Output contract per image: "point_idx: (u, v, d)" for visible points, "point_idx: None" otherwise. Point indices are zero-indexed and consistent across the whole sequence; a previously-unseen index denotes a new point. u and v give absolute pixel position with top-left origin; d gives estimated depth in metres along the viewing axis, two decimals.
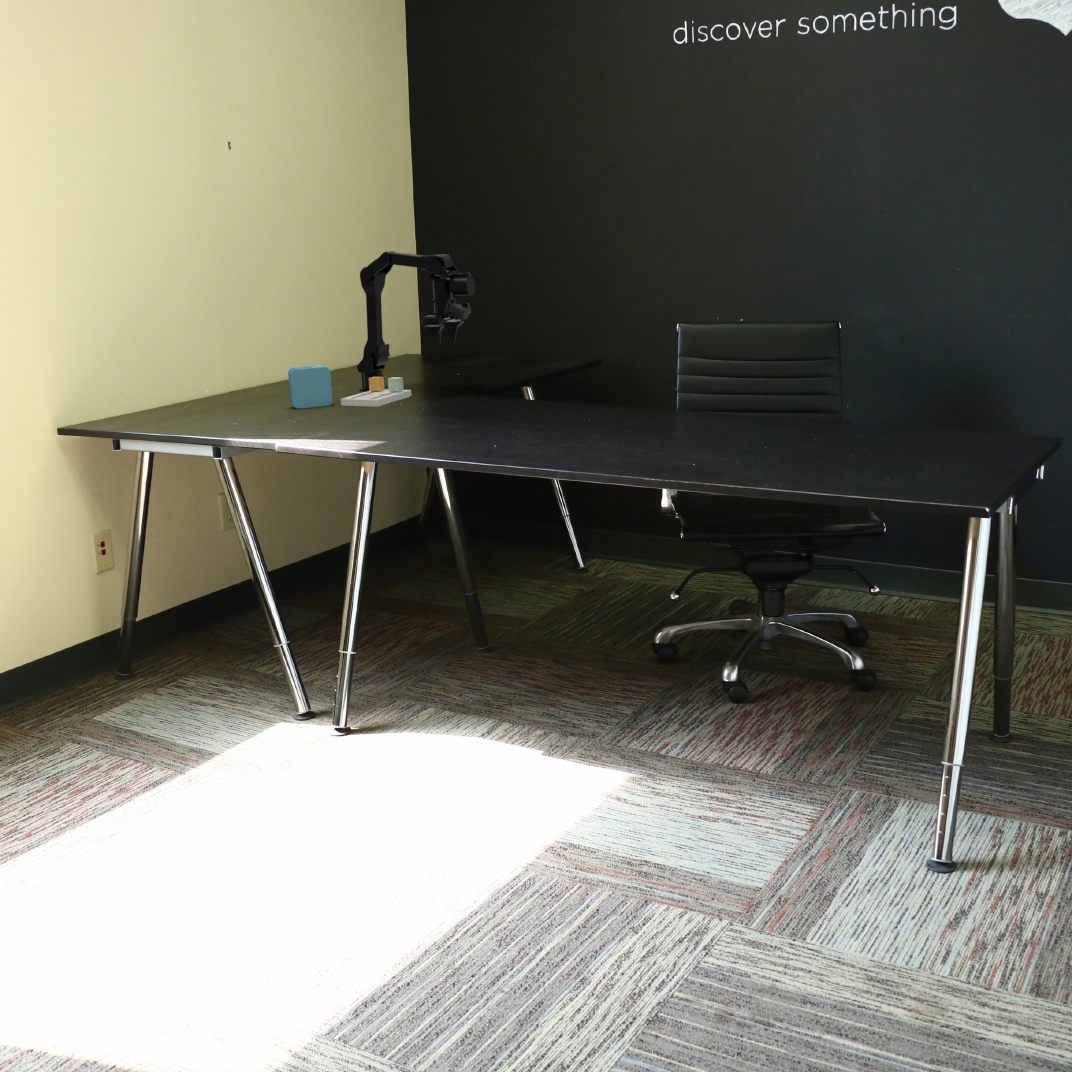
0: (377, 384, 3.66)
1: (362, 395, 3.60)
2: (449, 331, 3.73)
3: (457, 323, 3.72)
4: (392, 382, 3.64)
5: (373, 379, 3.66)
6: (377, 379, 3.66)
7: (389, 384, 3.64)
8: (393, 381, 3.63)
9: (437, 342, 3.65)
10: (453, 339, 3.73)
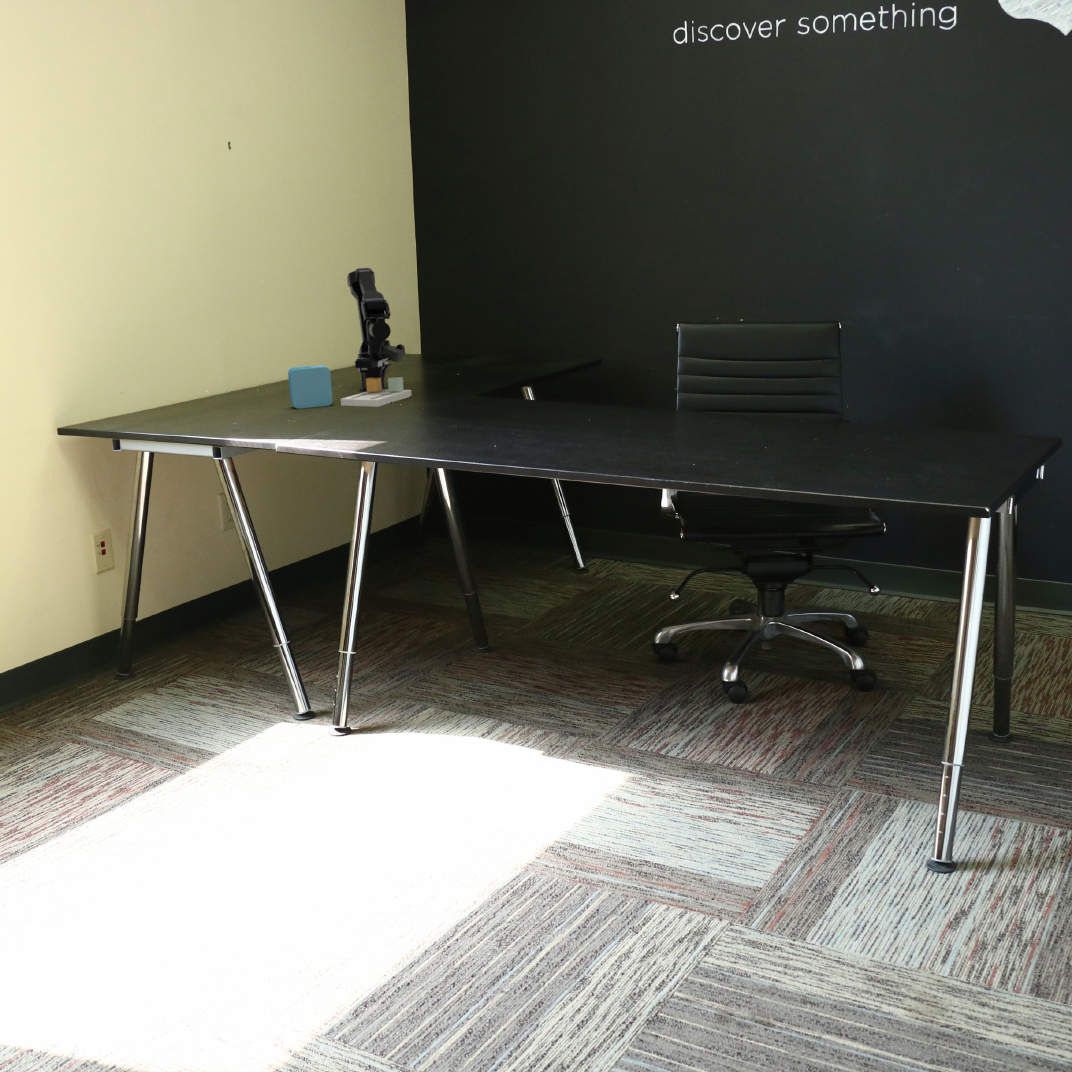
0: (374, 385, 3.65)
1: (362, 395, 3.60)
2: None
3: (385, 366, 3.68)
4: (392, 382, 3.64)
5: (370, 380, 3.65)
6: (374, 380, 3.64)
7: (389, 384, 3.64)
8: (393, 381, 3.63)
9: None
10: (381, 382, 3.69)
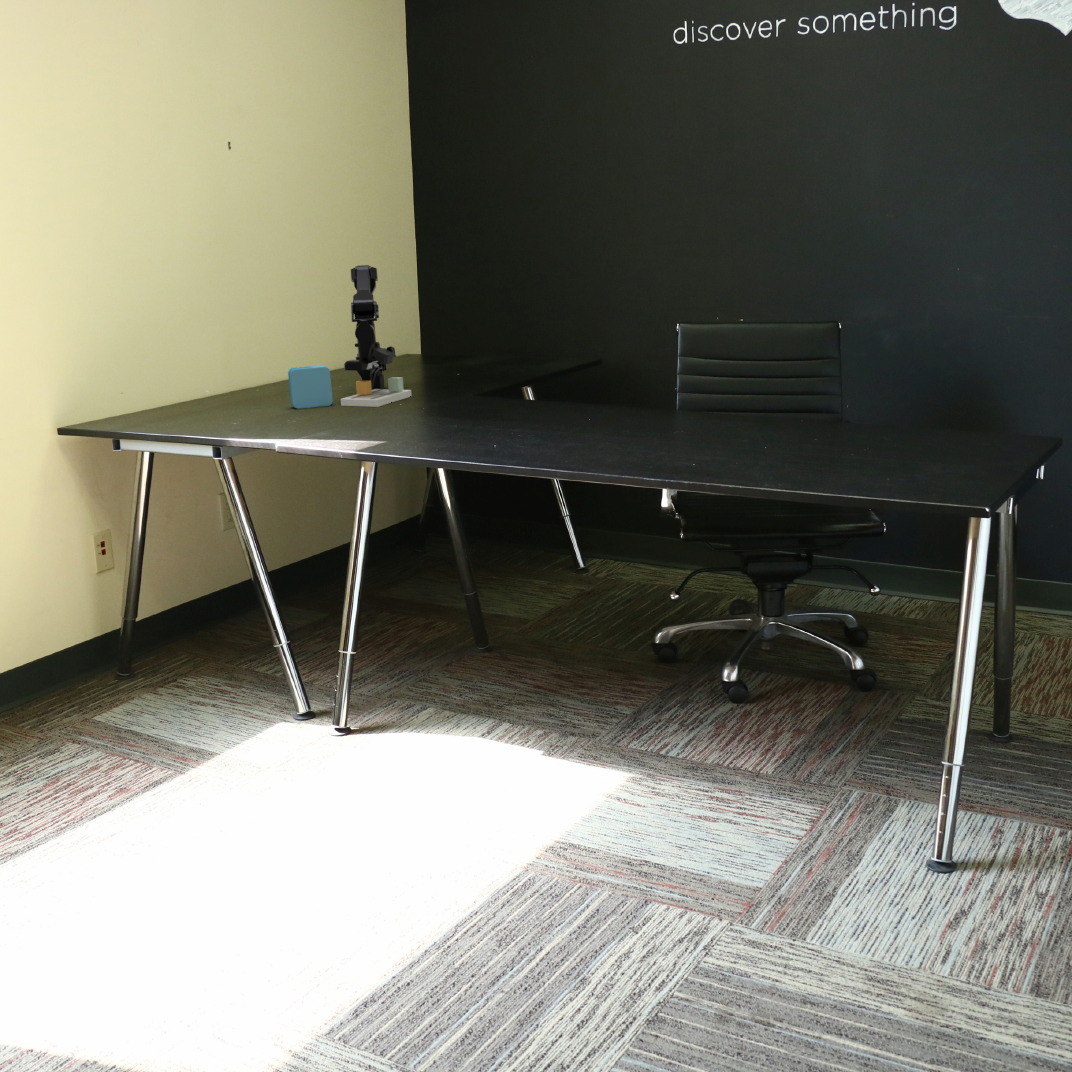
0: (364, 388, 3.60)
1: (362, 395, 3.60)
2: None
3: (375, 369, 3.63)
4: (392, 382, 3.64)
5: (360, 382, 3.60)
6: (364, 383, 3.59)
7: (389, 384, 3.64)
8: (393, 381, 3.63)
9: None
10: (371, 385, 3.64)
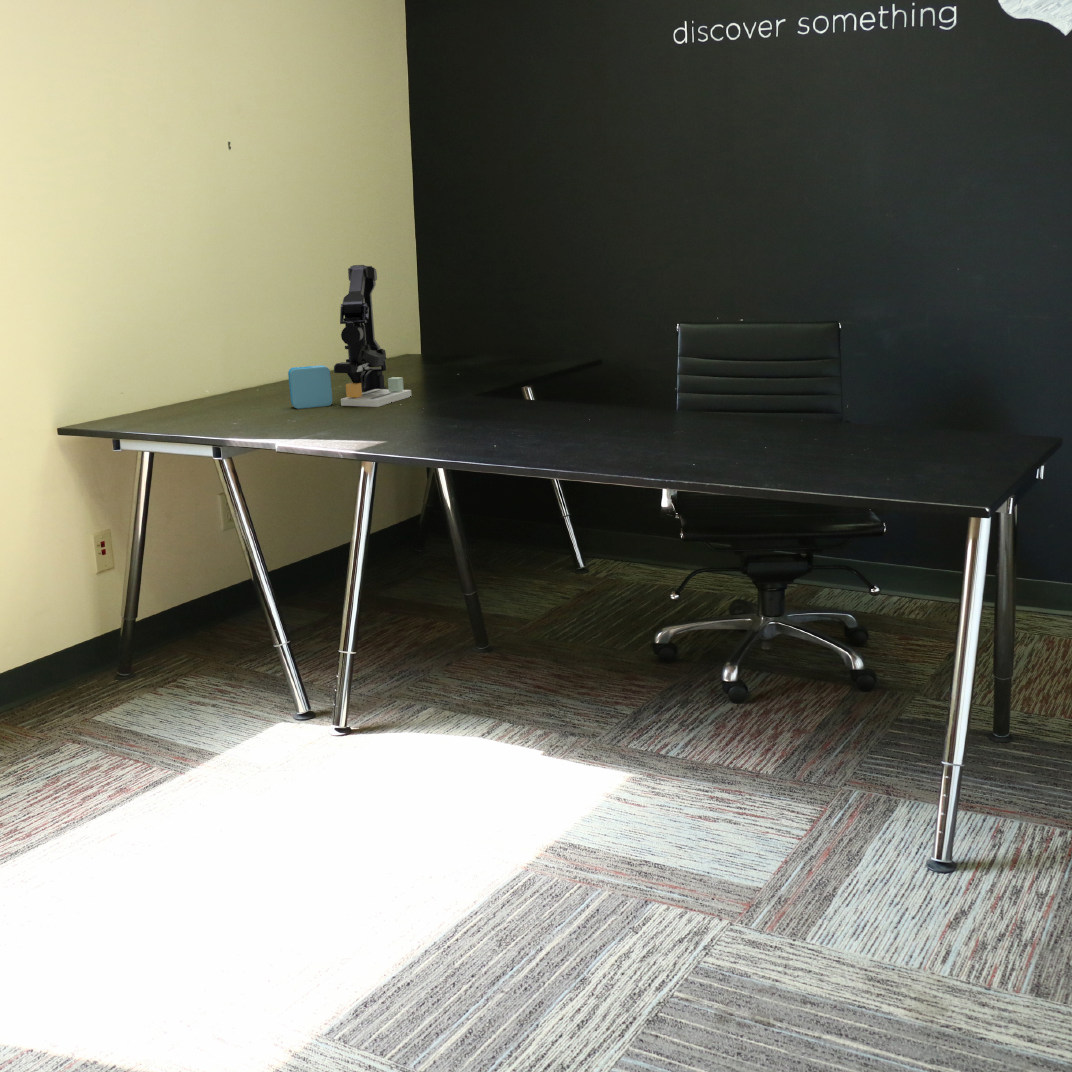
0: (354, 390, 3.55)
1: (362, 395, 3.60)
2: None
3: (365, 371, 3.58)
4: (392, 382, 3.64)
5: (350, 385, 3.55)
6: (354, 385, 3.54)
7: (389, 384, 3.64)
8: (393, 381, 3.63)
9: None
10: None
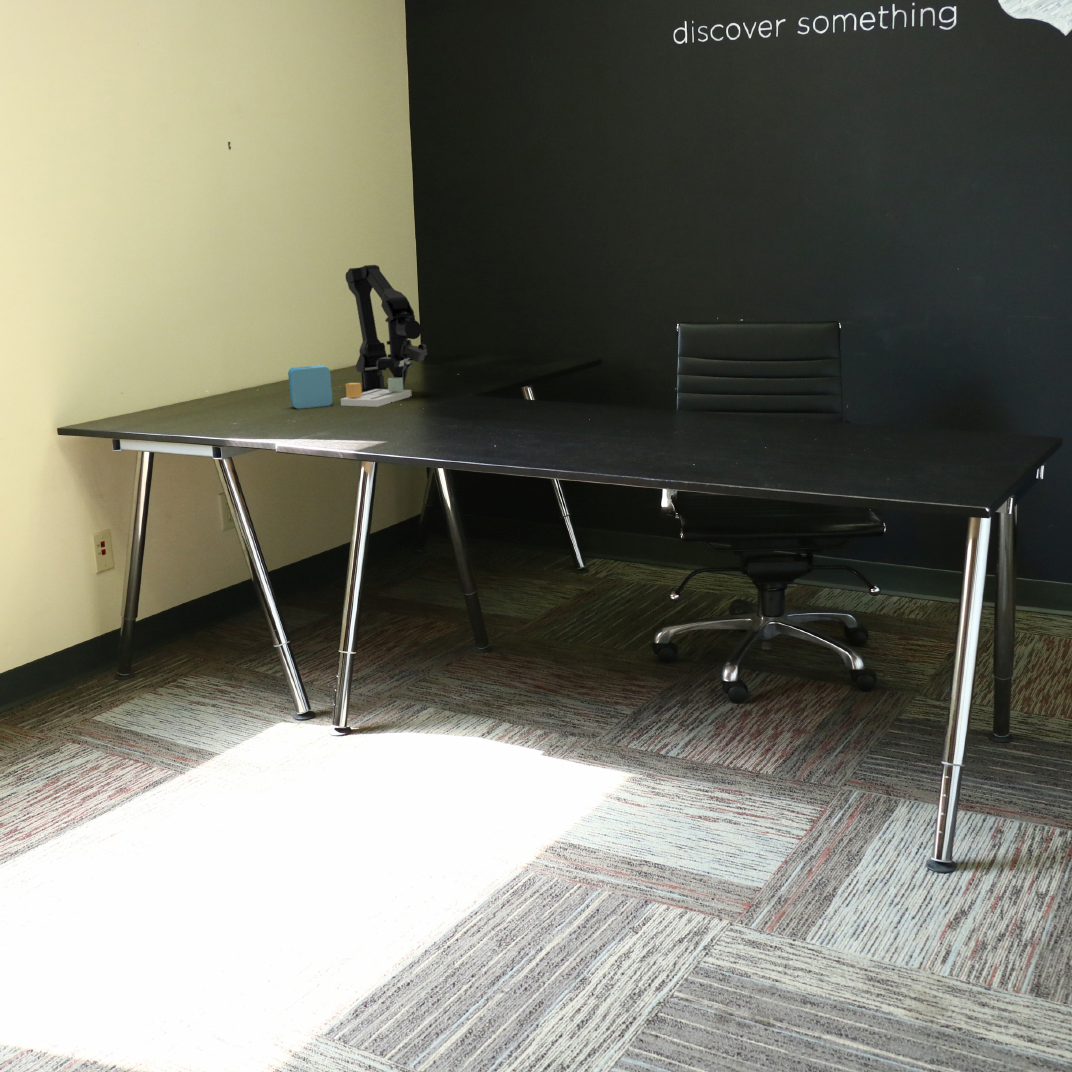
0: (354, 390, 3.55)
1: (362, 395, 3.60)
2: None
3: (406, 366, 3.66)
4: (392, 383, 3.64)
5: (350, 385, 3.55)
6: (354, 385, 3.54)
7: (388, 384, 3.64)
8: (393, 381, 3.63)
9: None
10: None
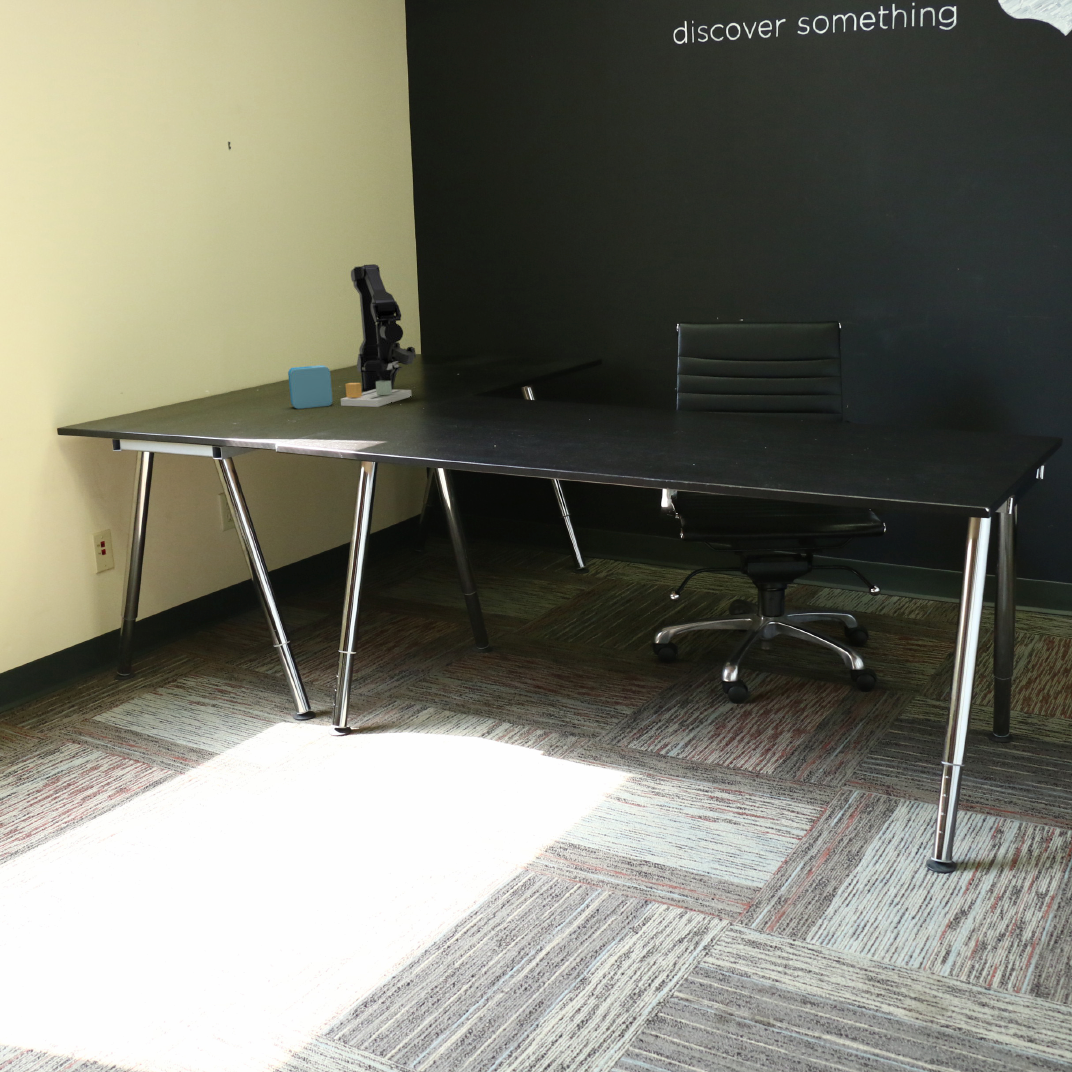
0: (354, 390, 3.55)
1: (362, 395, 3.60)
2: None
3: (395, 369, 3.60)
4: (380, 386, 3.58)
5: (350, 385, 3.55)
6: (354, 385, 3.54)
7: (377, 388, 3.58)
8: (381, 384, 3.57)
9: None
10: (391, 385, 3.62)
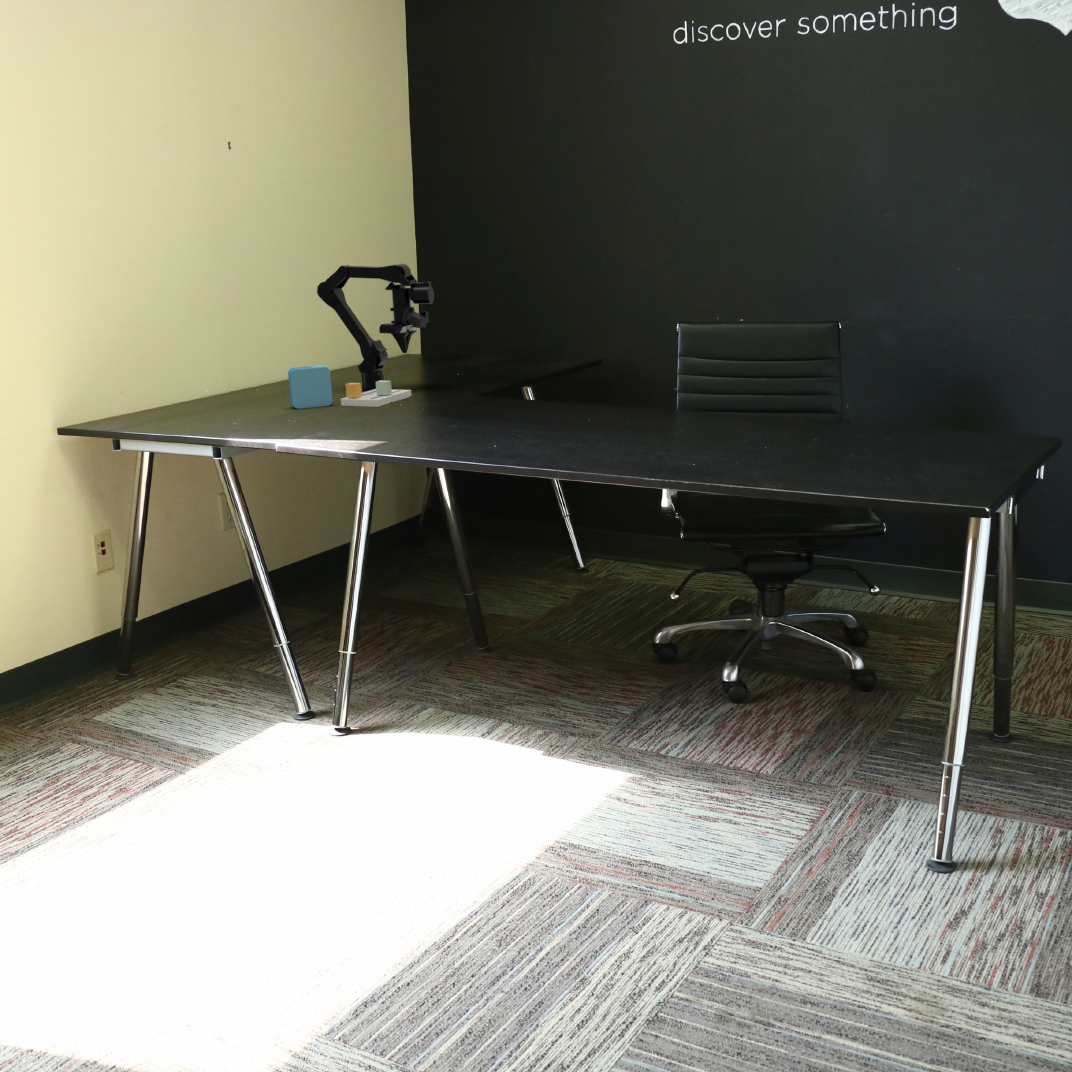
0: (354, 390, 3.55)
1: (362, 395, 3.60)
2: None
3: (409, 332, 3.77)
4: (380, 386, 3.58)
5: (350, 385, 3.55)
6: (354, 385, 3.54)
7: (377, 388, 3.58)
8: (381, 384, 3.57)
9: (403, 348, 3.78)
10: None
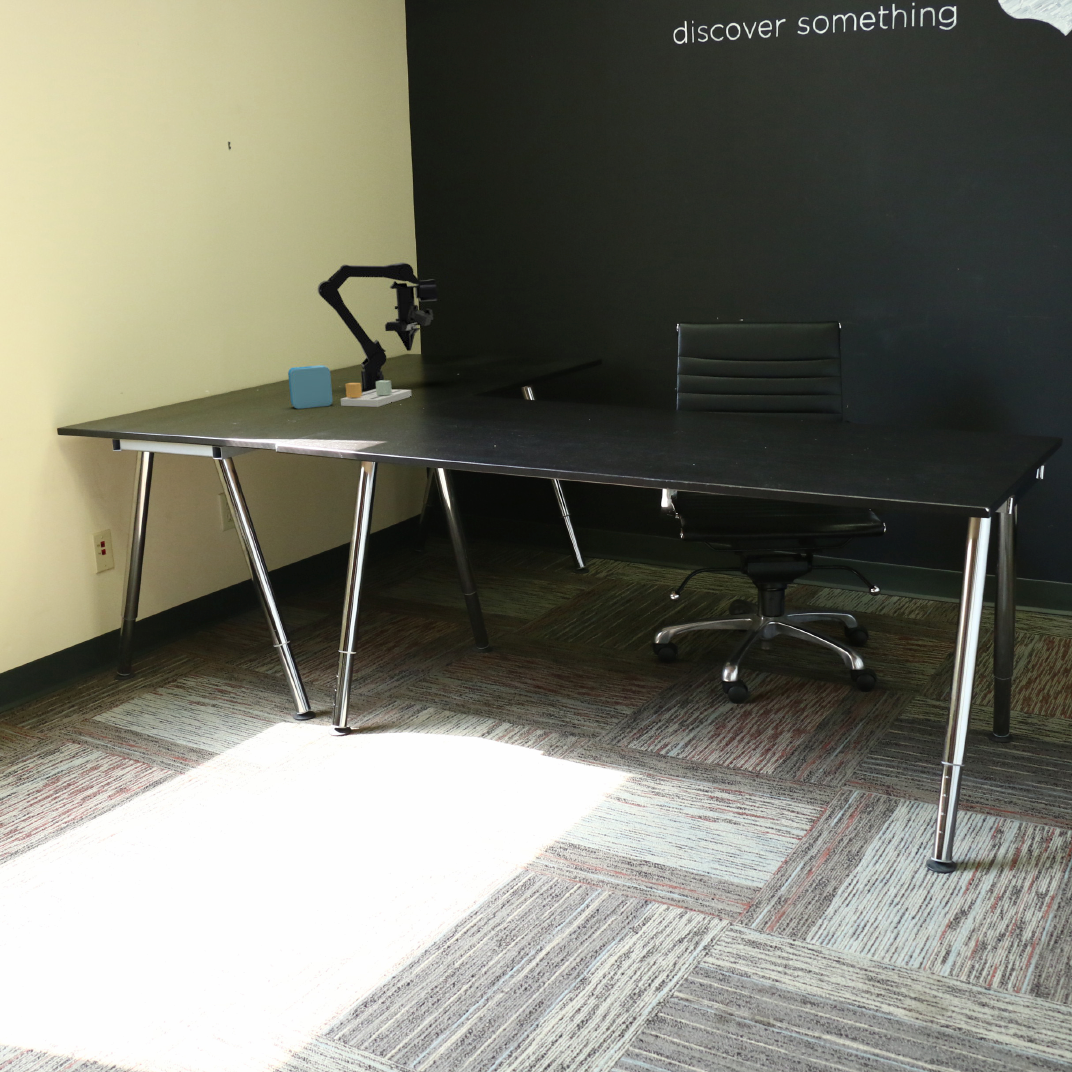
0: (354, 390, 3.55)
1: (362, 395, 3.60)
2: None
3: (413, 330, 3.83)
4: (380, 386, 3.58)
5: (350, 385, 3.55)
6: (354, 385, 3.54)
7: (377, 388, 3.58)
8: (381, 384, 3.57)
9: (407, 345, 3.84)
10: None
